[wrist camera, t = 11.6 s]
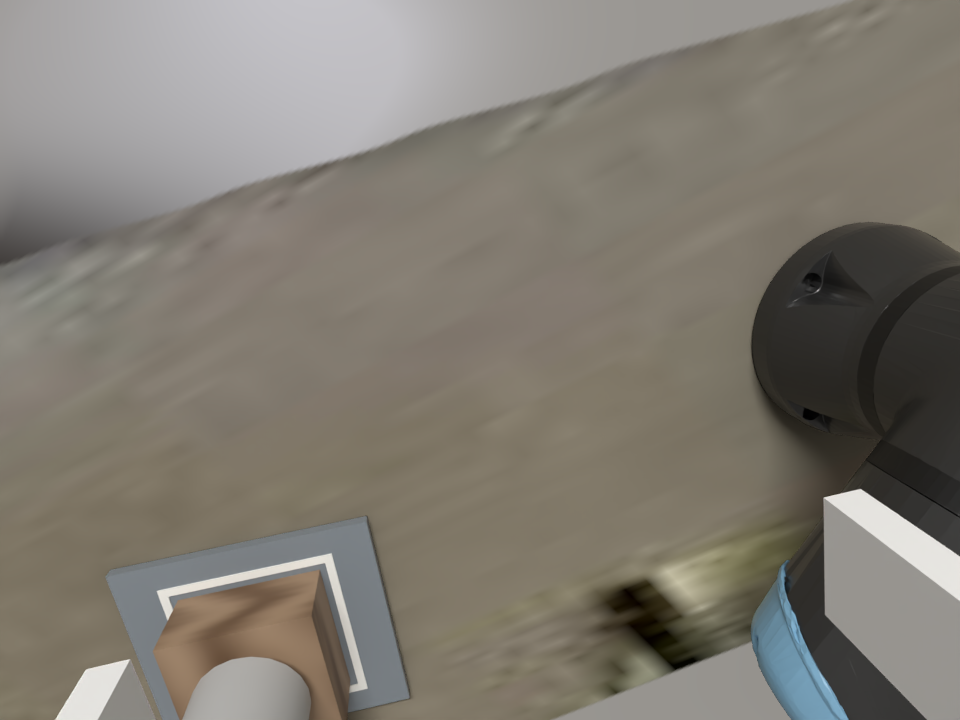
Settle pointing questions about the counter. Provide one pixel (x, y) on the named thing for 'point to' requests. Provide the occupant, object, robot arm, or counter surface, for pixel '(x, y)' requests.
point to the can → (250, 692)
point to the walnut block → (258, 639)
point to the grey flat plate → (327, 548)
